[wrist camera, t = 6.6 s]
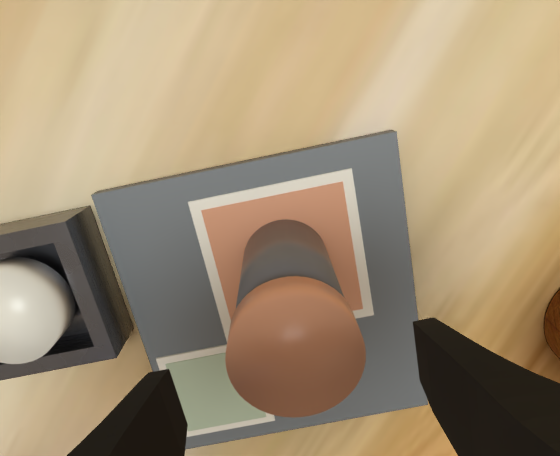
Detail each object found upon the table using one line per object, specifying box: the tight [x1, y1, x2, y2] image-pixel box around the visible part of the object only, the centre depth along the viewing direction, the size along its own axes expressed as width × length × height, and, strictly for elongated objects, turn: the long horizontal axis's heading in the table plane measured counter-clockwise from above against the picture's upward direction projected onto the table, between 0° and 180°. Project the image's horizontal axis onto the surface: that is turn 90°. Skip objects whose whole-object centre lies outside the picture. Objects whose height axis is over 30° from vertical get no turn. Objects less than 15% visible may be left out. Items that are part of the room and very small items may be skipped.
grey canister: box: [225, 219, 366, 418], centre depth 16 cm, size 4×4×8 cm
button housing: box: [0, 206, 133, 380], centre depth 20 cm, size 7×7×3 cm
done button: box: [0, 257, 75, 364], centre depth 19 cm, size 4×4×2 cm
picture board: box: [91, 130, 428, 449], centre depth 22 cm, size 15×14×1 cm
